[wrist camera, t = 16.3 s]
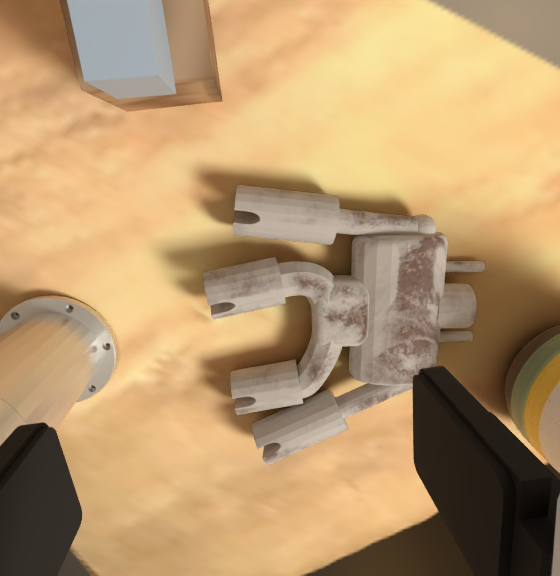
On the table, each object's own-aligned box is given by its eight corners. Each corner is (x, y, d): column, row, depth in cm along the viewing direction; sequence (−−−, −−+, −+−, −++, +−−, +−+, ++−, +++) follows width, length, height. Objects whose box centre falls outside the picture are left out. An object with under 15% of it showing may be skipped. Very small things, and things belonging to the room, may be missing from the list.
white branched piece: (249, 442, 51) (484, 401, 50) (246, 483, 44) (518, 437, 43) (191, 193, 42) (472, 140, 42) (176, 195, 35) (513, 133, 35)
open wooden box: (127, 111, 38) (80, 89, 27) (96, -40, 34) (28, -133, 24) (222, 101, 38) (213, 75, 28) (201, -50, 35) (181, -146, 24)
